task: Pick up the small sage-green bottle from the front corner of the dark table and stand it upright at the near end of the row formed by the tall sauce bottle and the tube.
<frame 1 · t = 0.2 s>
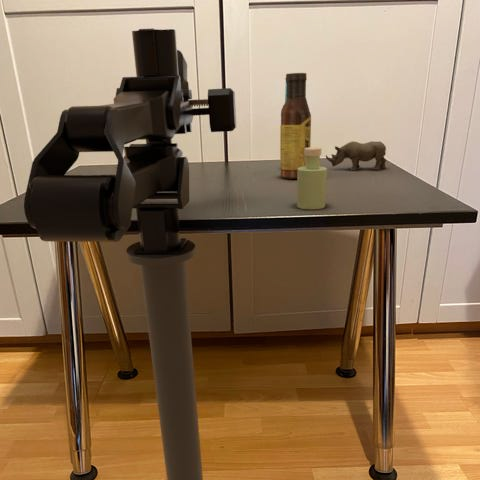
hand: (187, 111, 84), 14 cm above the table, tool horizontal, fingers open, 9 cm apart
sauce bottle: (294, 178, 103), on the table
small bottle: (310, 206, 79), on the table
rhino figurine: (355, 170, 110), on the table
tube: (293, 169, 113), on the table
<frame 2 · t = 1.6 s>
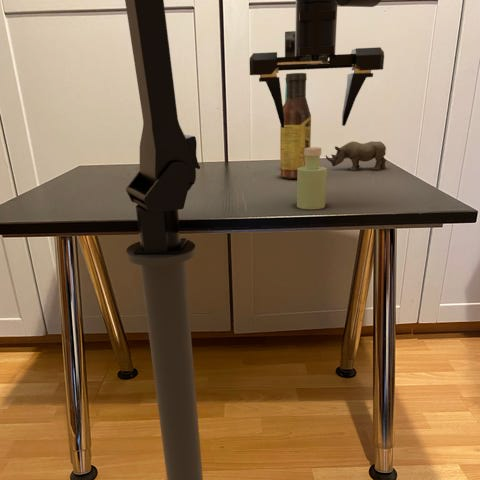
hand: (313, 126, 73), 12 cm above the table, tool pointing down, fingers open, 9 cm apart
nothing on the table moved.
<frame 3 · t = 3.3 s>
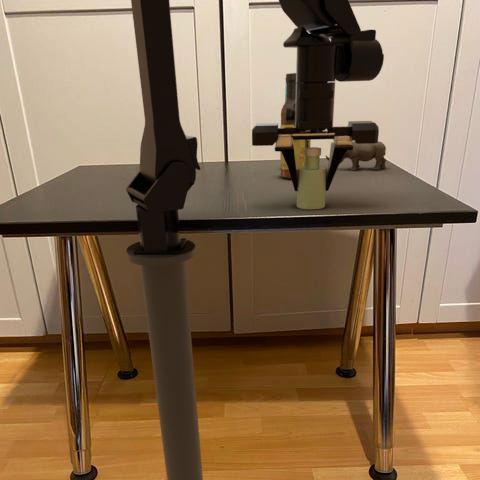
hand: (311, 190, 77), 3 cm above the table, tool pointing down, fingers closed on small bottle, 4 cm apart
small bottle: (310, 206, 79), on the table, touching gripper
everything else where it was.
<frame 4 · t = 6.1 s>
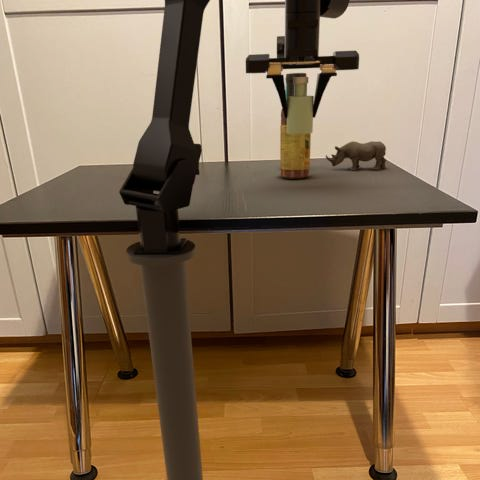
hand: (300, 117, 86), 13 cm above the table, tool pointing down, fingers closed on small bottle, 4 cm apart
small bottle: (299, 132, 87), point 10 cm above the table, touching gripper
everything else where it was.
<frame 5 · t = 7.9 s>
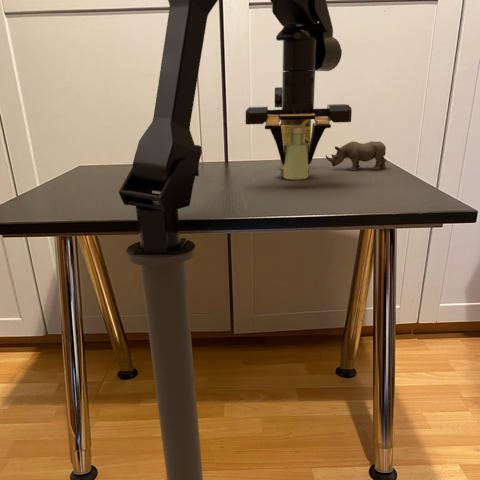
hand: (296, 163, 91), 4 cm above the table, tool pointing down, fingers closed on small bottle, 4 cm apart
small bottle: (295, 177, 92), point 2 cm above the table, touching gripper
everything else where it was.
when the fingers open (3 cm above the table, at t = 8.8 s): small bottle stays where it is, on the table.
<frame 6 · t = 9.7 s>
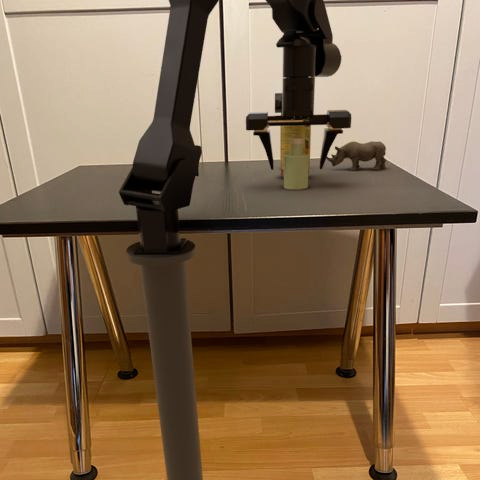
hand: (296, 169, 92), 3 cm above the table, tool pointing down, fingers open, 9 cm apart
small bottle: (295, 187, 93), on the table
everything else where it was.
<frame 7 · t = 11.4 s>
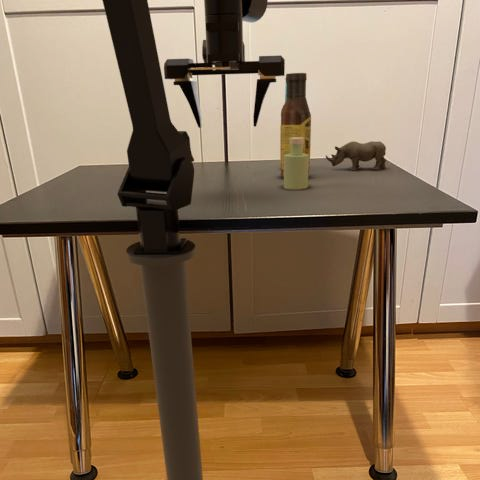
hand: (227, 126, 80), 12 cm above the table, tool pointing down, fingers open, 9 cm apart
nothing on the table moved.
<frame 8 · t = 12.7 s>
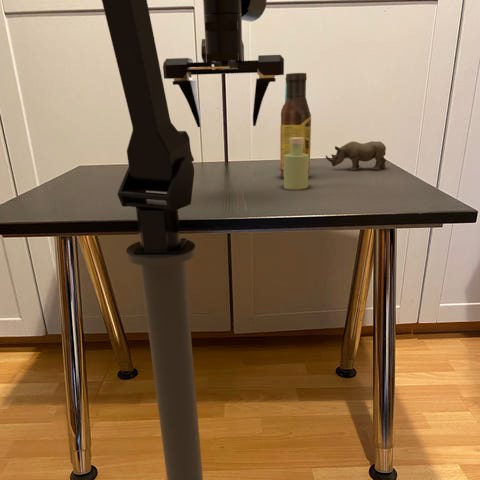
hand: (226, 126, 80), 12 cm above the table, tool pointing down, fingers open, 9 cm apart
nothing on the table moved.
at the end: small bottle 0.0 cm from the target spot on the table beside the sauce bottle, on the table; small bottle tilted 0°; sauce bottle moved 0.2 cm from its start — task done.
